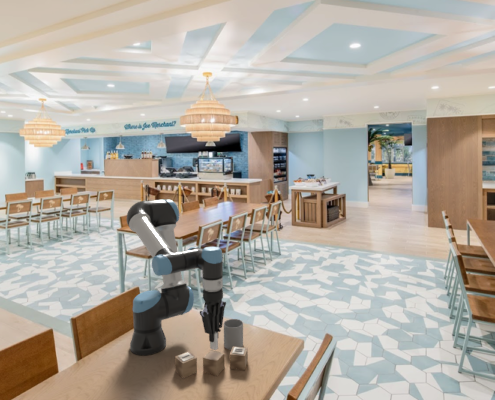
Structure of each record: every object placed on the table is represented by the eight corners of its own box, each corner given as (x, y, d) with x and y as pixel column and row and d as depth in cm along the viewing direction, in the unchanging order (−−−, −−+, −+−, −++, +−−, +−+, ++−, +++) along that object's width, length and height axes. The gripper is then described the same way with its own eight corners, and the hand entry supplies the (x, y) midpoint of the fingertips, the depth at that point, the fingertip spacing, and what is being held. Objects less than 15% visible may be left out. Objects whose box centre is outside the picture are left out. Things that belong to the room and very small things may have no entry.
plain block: (203, 372, 131) (202, 357, 130) (211, 364, 136) (211, 349, 136) (216, 376, 129) (216, 361, 128) (224, 367, 134) (224, 353, 133)
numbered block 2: (229, 369, 133) (229, 353, 133) (233, 360, 139) (232, 345, 138) (244, 370, 132) (244, 355, 131) (247, 361, 138) (247, 346, 137)
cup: (240, 351, 146) (240, 328, 145) (221, 349, 148) (221, 326, 147) (244, 341, 154) (244, 319, 153) (226, 339, 156) (226, 318, 155)
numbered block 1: (175, 371, 132) (174, 355, 131) (189, 365, 136) (188, 350, 135) (183, 378, 127) (182, 362, 127) (197, 372, 131) (196, 356, 130)
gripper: (208, 295, 122) (210, 359, 124) (231, 285, 132) (232, 343, 135) (193, 291, 126) (195, 353, 128) (216, 281, 137) (217, 338, 139)
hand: (214, 348), depth 131 cm, fingers closed
